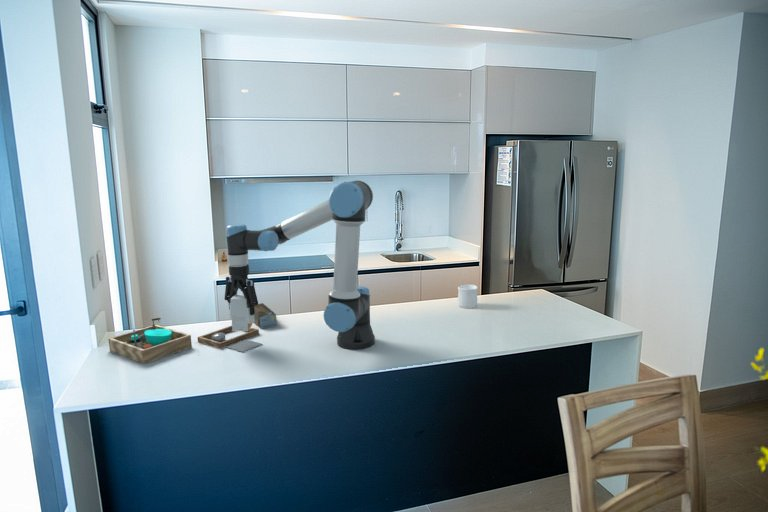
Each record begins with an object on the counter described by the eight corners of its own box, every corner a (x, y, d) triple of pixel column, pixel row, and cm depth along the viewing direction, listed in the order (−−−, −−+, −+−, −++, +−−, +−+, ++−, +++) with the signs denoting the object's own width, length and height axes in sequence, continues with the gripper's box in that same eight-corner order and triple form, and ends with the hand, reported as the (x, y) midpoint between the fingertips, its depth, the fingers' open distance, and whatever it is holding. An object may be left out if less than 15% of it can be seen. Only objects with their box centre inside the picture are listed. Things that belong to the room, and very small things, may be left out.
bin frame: (259, 334, 221) (258, 329, 221) (220, 348, 205) (219, 343, 205) (237, 328, 229) (236, 323, 229) (197, 341, 213) (197, 337, 212)
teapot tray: (191, 347, 207) (190, 335, 206) (144, 363, 191) (142, 350, 190) (156, 335, 221) (155, 324, 220) (109, 350, 205) (108, 338, 204)
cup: (457, 308, 253) (457, 289, 251) (458, 302, 263) (458, 284, 261) (477, 309, 252) (477, 289, 250) (477, 303, 261) (477, 284, 259)
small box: (248, 331, 202) (246, 298, 199) (231, 331, 202) (229, 299, 199) (253, 324, 210) (251, 293, 207) (237, 324, 210) (235, 293, 207)
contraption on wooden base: (125, 347, 208) (120, 311, 205) (173, 338, 216) (169, 303, 213) (127, 360, 196) (121, 321, 193) (178, 350, 204) (173, 313, 201)
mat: (262, 344, 208) (262, 343, 208) (242, 352, 200) (242, 351, 200) (245, 340, 214) (245, 339, 214) (225, 347, 206) (225, 346, 206)
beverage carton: (259, 329, 227) (258, 315, 226) (247, 318, 244) (246, 304, 242) (277, 326, 231) (276, 312, 230) (264, 315, 248) (263, 302, 246)
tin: (228, 341, 214) (227, 334, 213) (217, 344, 210) (217, 337, 209) (220, 338, 216) (219, 331, 216) (210, 342, 212) (209, 335, 212)
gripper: (266, 266, 198) (269, 322, 202) (227, 259, 210) (231, 313, 214) (250, 269, 192) (254, 328, 196) (212, 263, 204) (216, 318, 208)
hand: (242, 320), depth 205 cm, fingers closed on small box, 10 cm apart
